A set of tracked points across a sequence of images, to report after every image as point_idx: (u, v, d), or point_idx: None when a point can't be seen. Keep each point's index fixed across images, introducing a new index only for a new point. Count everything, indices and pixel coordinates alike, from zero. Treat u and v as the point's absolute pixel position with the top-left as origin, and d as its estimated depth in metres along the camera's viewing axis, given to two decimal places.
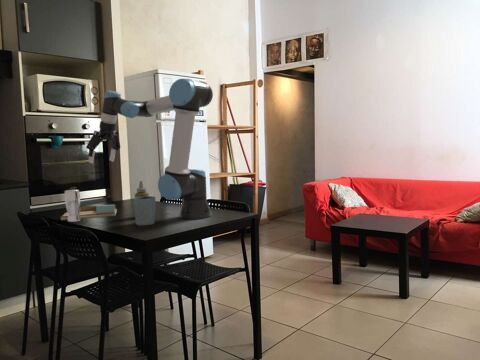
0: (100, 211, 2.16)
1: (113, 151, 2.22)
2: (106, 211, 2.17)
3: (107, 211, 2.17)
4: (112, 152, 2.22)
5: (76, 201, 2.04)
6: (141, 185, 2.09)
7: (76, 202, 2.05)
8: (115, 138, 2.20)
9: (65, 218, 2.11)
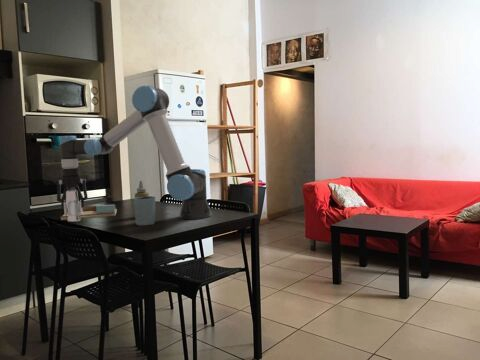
0: (100, 211, 2.16)
1: None
2: (106, 211, 2.17)
3: (107, 211, 2.17)
4: (79, 204, 2.08)
5: (76, 201, 2.04)
6: (141, 185, 2.09)
7: (76, 202, 2.05)
8: None
9: (65, 218, 2.11)
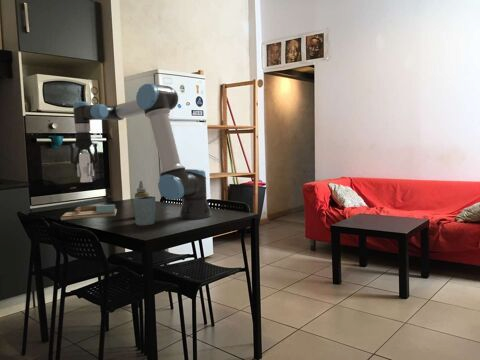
0: (100, 211, 2.16)
1: None
2: (106, 211, 2.17)
3: (107, 211, 2.17)
4: (91, 166, 2.23)
5: (88, 163, 2.20)
6: (141, 185, 2.09)
7: (88, 164, 2.20)
8: (94, 150, 2.22)
9: (65, 218, 2.11)
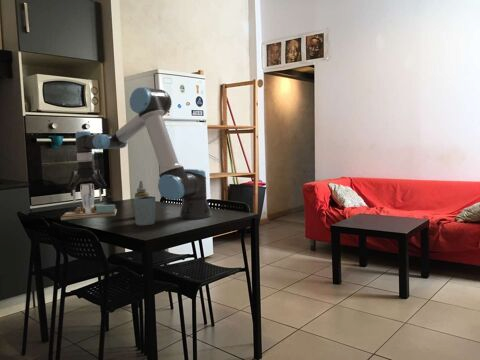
0: (100, 211, 2.16)
1: (99, 190, 2.24)
2: (106, 211, 2.17)
3: (107, 211, 2.17)
4: (99, 191, 2.25)
5: (91, 194, 2.21)
6: (141, 185, 2.09)
7: (91, 195, 2.21)
8: None
9: (65, 218, 2.11)
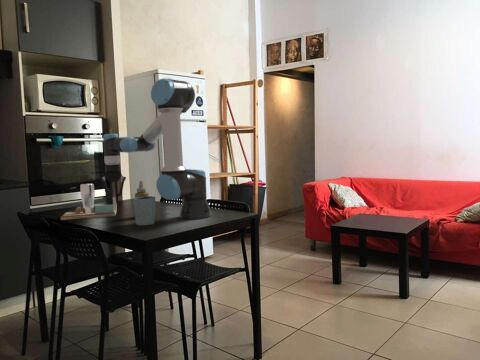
0: (99, 211, 2.16)
1: None
2: (105, 211, 2.17)
3: (106, 211, 2.17)
4: None
5: (91, 194, 2.21)
6: (141, 185, 2.09)
7: (91, 195, 2.21)
8: (121, 183, 2.18)
9: (65, 218, 2.11)
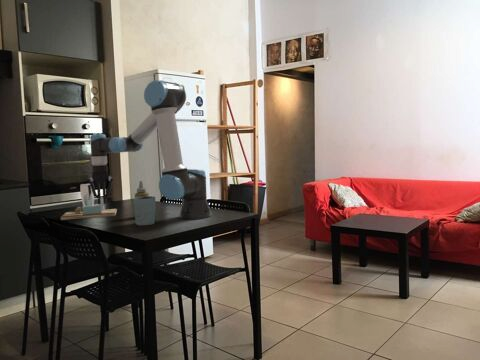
0: (86, 212, 2.15)
1: None
2: (92, 212, 2.15)
3: (93, 212, 2.16)
4: None
5: (91, 194, 2.21)
6: (141, 185, 2.09)
7: (91, 195, 2.21)
8: None
9: (65, 218, 2.11)
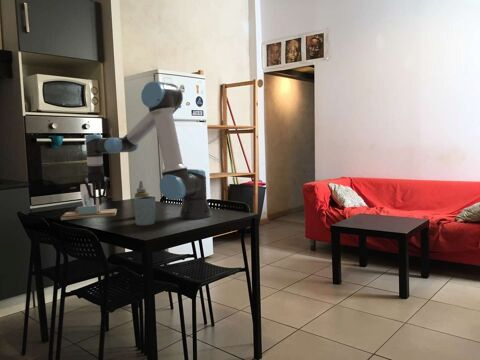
0: (82, 212, 2.14)
1: None
2: (88, 212, 2.15)
3: (89, 212, 2.15)
4: None
5: None
6: (141, 185, 2.09)
7: None
8: (104, 184, 2.16)
9: (65, 218, 2.11)
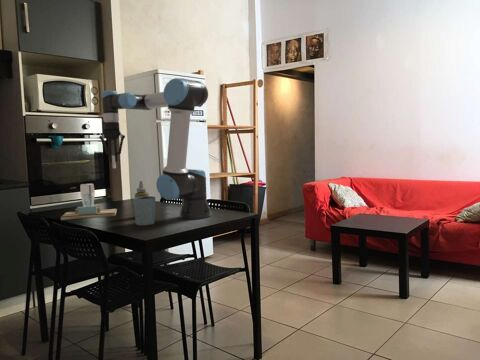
0: (82, 212, 2.14)
1: None
2: (88, 212, 2.15)
3: (89, 212, 2.15)
4: None
5: (91, 194, 2.21)
6: (141, 185, 2.09)
7: (91, 195, 2.21)
8: (120, 141, 2.16)
9: (65, 218, 2.11)
